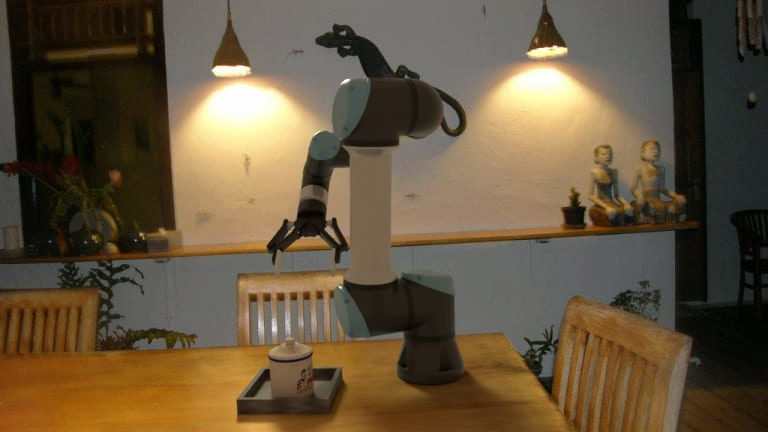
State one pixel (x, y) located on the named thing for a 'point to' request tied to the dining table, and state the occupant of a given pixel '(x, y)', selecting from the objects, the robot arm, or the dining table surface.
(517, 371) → the dining table surface
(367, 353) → the dining table surface
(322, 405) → the tea tray
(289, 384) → the teacup with lid
